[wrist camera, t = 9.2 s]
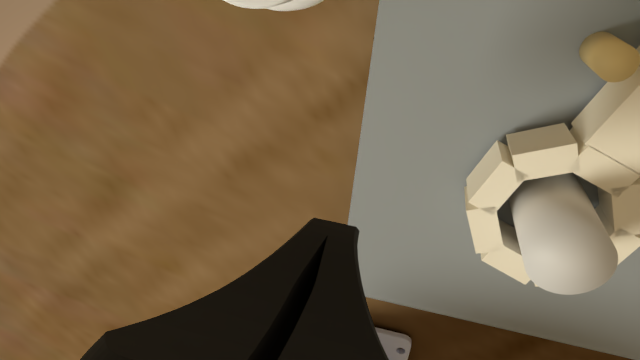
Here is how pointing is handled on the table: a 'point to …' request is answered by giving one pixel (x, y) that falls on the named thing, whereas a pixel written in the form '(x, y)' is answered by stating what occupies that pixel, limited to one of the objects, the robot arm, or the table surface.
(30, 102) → the table surface
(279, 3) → the supplement bottle
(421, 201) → the post board
